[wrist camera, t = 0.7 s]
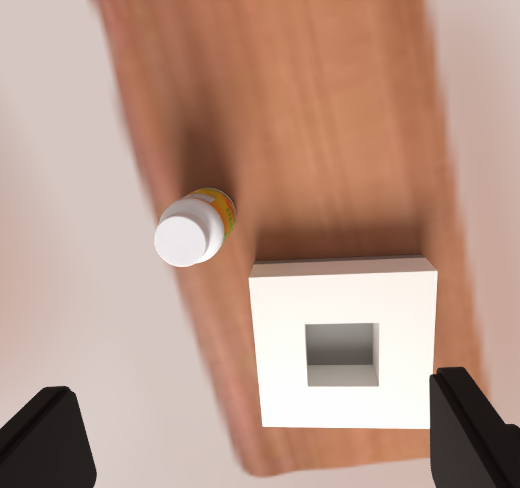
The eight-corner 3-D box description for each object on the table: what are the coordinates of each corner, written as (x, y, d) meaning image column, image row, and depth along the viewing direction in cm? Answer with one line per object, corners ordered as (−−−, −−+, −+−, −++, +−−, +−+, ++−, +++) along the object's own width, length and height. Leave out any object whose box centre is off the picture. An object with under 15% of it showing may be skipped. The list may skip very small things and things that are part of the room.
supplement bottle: (234, 244, 38) (211, 281, 29) (181, 236, 39) (142, 270, 30) (240, 191, 37) (219, 212, 28) (185, 182, 37) (145, 201, 28)
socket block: (254, 261, 39) (248, 277, 34) (421, 254, 37) (437, 270, 32) (266, 396, 43) (262, 426, 39) (416, 397, 41) (429, 428, 37)
